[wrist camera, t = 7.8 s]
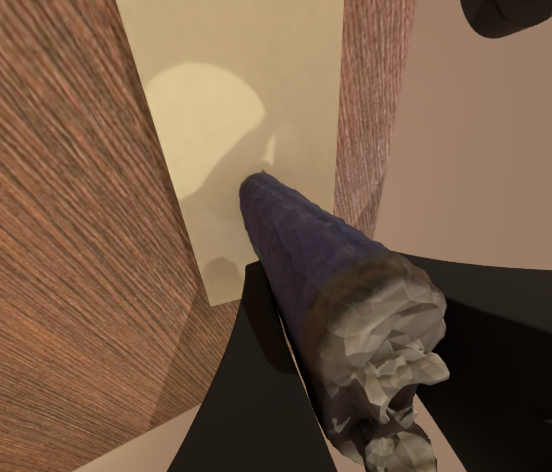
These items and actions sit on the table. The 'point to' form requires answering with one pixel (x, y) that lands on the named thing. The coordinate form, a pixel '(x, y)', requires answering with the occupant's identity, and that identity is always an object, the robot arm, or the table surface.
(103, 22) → the table surface
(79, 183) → the table surface
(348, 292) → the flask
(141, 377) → the table surface
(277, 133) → the cake board
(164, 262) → the table surface
